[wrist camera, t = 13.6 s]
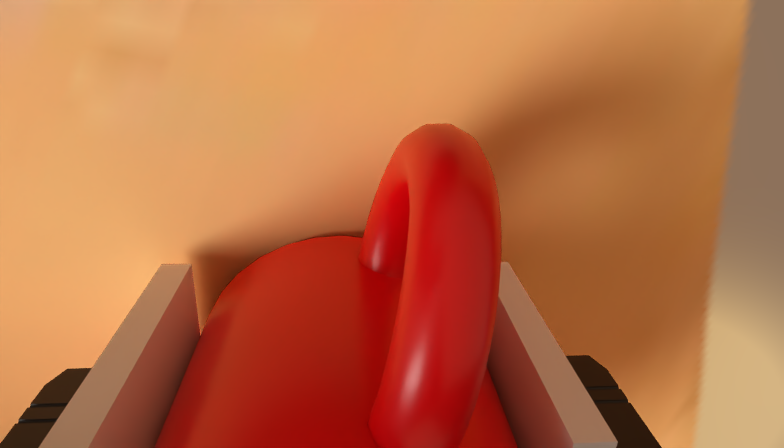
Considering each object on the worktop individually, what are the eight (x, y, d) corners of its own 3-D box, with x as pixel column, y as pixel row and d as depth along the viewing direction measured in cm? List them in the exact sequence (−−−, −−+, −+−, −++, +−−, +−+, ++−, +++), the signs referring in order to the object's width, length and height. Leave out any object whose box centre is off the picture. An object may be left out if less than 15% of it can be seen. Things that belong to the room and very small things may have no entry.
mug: (561, 124, 14) (803, 272, 6) (430, 470, 18) (488, 788, 11) (247, 45, 12) (113, 119, 5) (188, 439, 17) (70, 780, 9)
